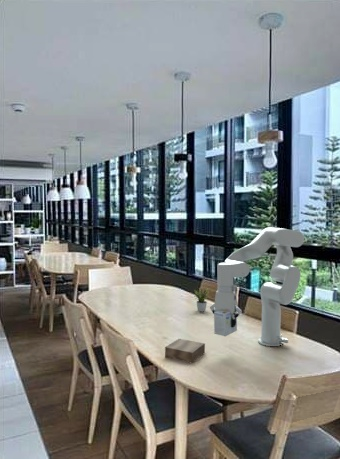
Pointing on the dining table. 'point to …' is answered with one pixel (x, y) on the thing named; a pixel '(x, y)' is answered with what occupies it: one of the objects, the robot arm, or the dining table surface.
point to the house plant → (201, 300)
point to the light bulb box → (223, 323)
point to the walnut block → (185, 350)
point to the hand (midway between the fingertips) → (225, 325)
